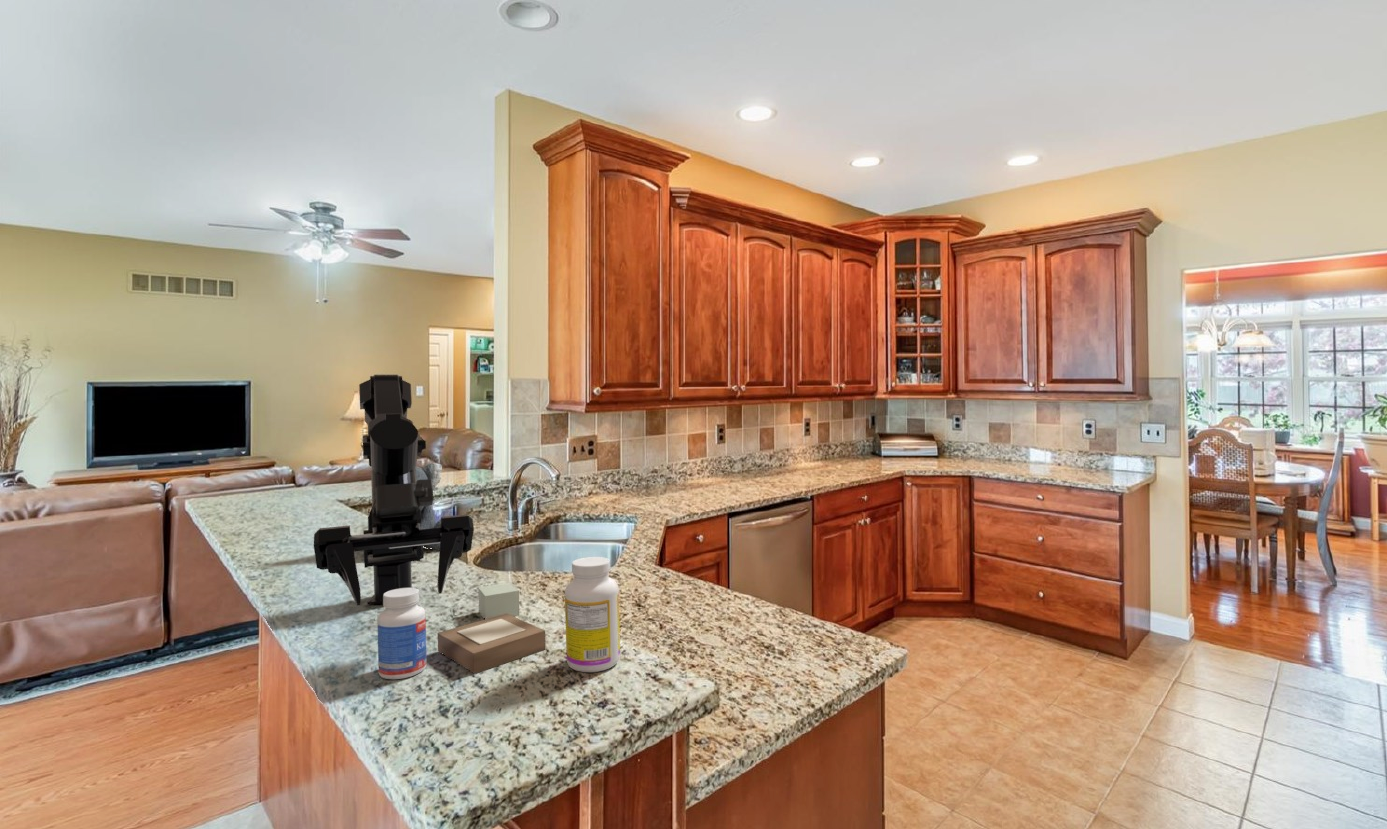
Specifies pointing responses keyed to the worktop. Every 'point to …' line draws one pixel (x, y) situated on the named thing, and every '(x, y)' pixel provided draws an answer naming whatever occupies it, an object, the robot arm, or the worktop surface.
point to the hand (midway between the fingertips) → (400, 597)
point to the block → (498, 600)
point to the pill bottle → (401, 635)
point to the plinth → (491, 642)
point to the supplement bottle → (592, 616)
